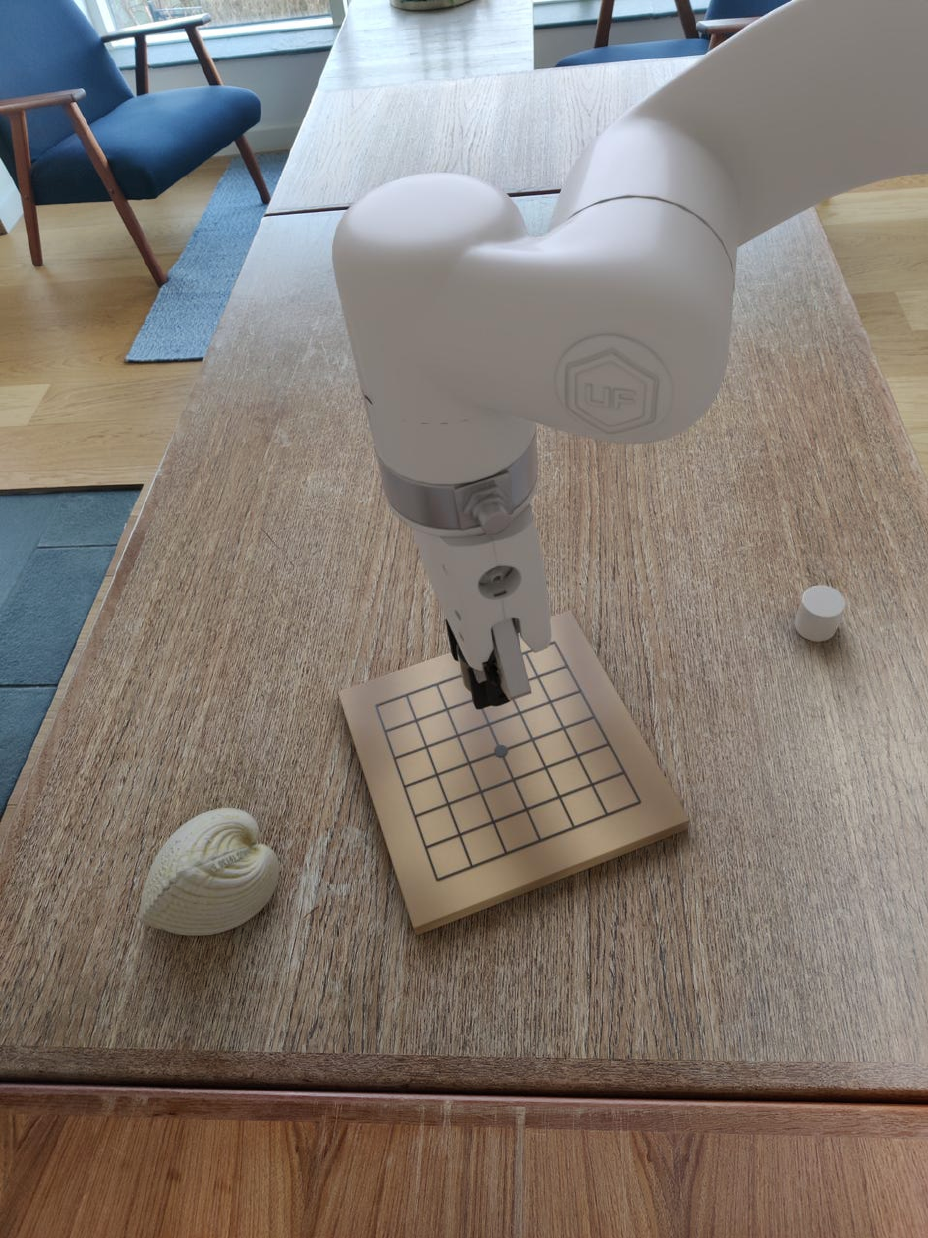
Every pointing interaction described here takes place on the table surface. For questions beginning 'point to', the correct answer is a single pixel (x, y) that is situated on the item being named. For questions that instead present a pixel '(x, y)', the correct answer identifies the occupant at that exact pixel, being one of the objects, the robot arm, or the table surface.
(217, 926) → the seashell
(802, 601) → the grey cylinder
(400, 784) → the board
